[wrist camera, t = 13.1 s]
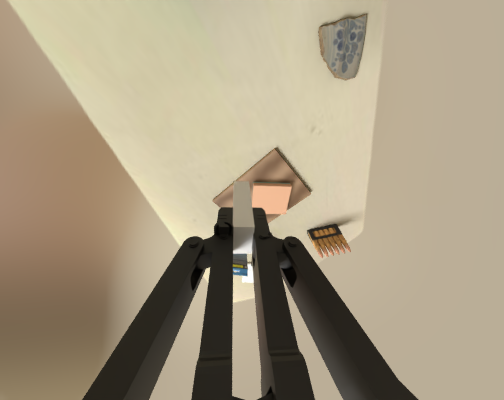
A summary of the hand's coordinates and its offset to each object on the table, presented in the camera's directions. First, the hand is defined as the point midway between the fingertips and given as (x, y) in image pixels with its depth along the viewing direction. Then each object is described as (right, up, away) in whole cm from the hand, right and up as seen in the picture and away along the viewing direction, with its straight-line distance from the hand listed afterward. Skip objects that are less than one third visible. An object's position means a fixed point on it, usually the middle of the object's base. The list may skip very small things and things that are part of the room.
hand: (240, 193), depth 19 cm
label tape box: (-6, -19, +52) cm, 56 cm away
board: (+4, +1, +39) cm, 39 cm away
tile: (+1, 0, +37) cm, 37 cm away
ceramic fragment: (+19, +31, +21) cm, 42 cm away
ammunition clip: (+27, -11, +49) cm, 57 cm away
